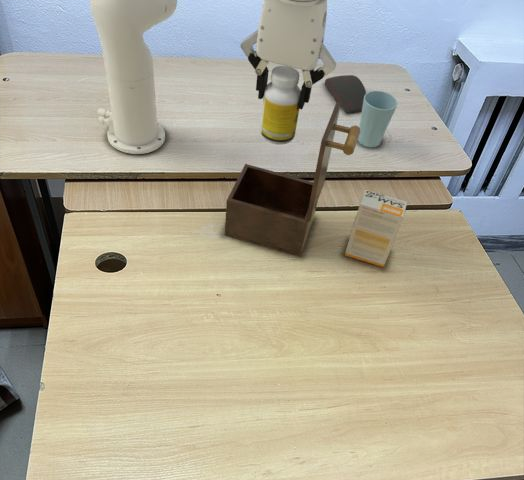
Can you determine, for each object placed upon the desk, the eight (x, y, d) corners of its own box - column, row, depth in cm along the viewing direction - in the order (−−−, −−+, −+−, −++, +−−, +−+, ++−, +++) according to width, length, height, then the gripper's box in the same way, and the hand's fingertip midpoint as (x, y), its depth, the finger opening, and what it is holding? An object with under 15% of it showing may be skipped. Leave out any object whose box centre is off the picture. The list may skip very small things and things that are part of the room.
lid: (321, 139, 83) (353, 147, 83) (336, 101, 90) (366, 108, 89) (306, 220, 97) (333, 227, 96) (320, 182, 103) (346, 188, 103)
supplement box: (387, 252, 108) (409, 201, 97) (383, 268, 105) (404, 217, 94) (348, 239, 108) (365, 187, 98) (343, 255, 106) (359, 203, 95)
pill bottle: (291, 149, 96) (302, 87, 86) (256, 142, 96) (263, 79, 87) (296, 128, 100) (307, 67, 90) (263, 122, 100) (270, 59, 90)
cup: (369, 127, 132) (381, 86, 123) (390, 144, 129) (404, 104, 120) (346, 136, 129) (357, 95, 120) (368, 154, 126) (380, 113, 117)
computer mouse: (346, 81, 143) (350, 66, 140) (371, 110, 136) (376, 95, 133) (320, 85, 140) (323, 70, 137) (344, 114, 134) (347, 99, 130)
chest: (224, 235, 106) (226, 199, 98) (242, 198, 112) (245, 163, 105) (300, 256, 104) (307, 222, 97) (313, 219, 111) (321, 184, 104)
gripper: (360, -14, 79) (334, 100, 94) (247, -40, 80) (240, 77, 95) (351, 7, 75) (326, 123, 90) (233, -20, 76) (227, 99, 91)
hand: (282, 99), depth 92 cm, fingers closed on pill bottle, 6 cm apart
